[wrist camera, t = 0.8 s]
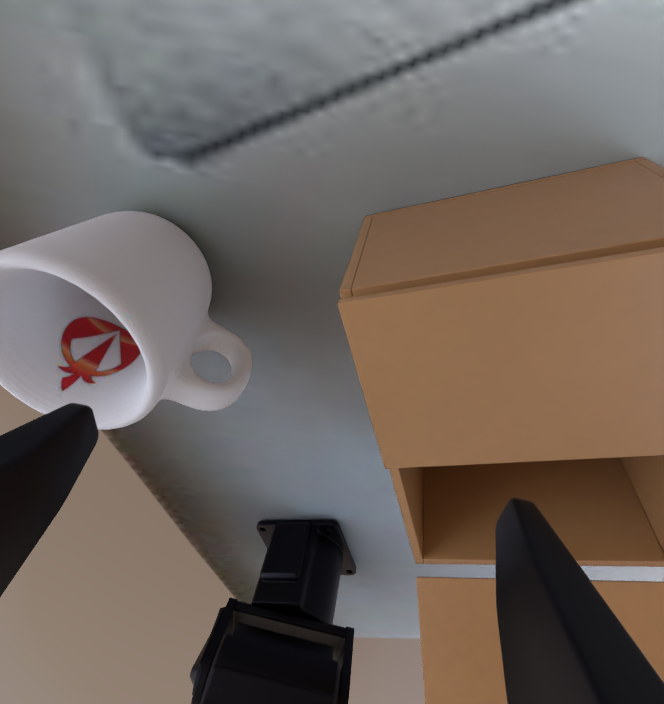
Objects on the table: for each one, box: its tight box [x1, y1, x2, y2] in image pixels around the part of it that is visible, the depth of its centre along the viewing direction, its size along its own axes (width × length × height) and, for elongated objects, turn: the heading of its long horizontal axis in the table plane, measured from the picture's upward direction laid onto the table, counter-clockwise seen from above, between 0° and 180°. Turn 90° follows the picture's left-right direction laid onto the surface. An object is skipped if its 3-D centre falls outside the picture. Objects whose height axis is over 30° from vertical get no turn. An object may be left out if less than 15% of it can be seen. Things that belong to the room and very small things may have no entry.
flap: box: [416, 577, 664, 704], centre depth 18 cm, size 7×11×1 cm
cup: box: [0, 211, 253, 429], centre depth 20 cm, size 11×8×8 cm
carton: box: [338, 157, 664, 567], centre depth 19 cm, size 15×11×8 cm
